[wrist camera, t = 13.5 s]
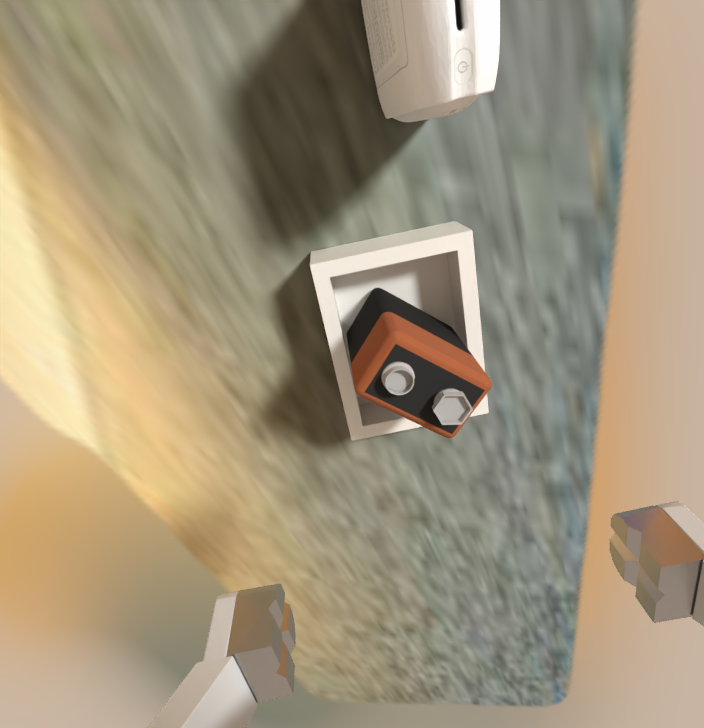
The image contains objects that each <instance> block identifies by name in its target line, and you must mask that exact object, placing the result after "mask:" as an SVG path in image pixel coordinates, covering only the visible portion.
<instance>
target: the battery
mask: <svg viewBox="0 0 704 728" xmlns="http://www.w3.org/2000/svg"><path fill="white" fill-rule="evenodd" d="M347 341H348V348H349V355H350V362H351V369H352V375H353V382H354V389H355V392H356V393H357V394H358V395H359V396H360V397H362V398H364V399H366V400H368V401H370V402H373V403H375V404H377V405H379V406H381V407H383V408H385V409H387V410H389V411H391V412H394V413H396V414H398V415H400V416H402V417H404V418H406V419H408V420H410V421H412V422H415V423H417V424H419V425H421V426H423V427H425V428H427V429H429V430H431V431H433V432H435V433H438V434H440V435H442V436H444V437H447V438H452V437H454V436H455V435H456V434H457V433H458V431H459V430H460V429H461V427H462V426H463V425H464V423H465V422H466V421H467V419H468V418H469V417H470V415H471V414H472V413H473V411H474V410H475V409H476V407H477V406H478V405H479V403H480V402H481V401H482V399H483V398H484V397H485V395H486V394H487V393H488V391H489V390H490V388H491V387H492V382H491V380H490V378H489V377H488V376H487V374H486V373H485V372H484V370H483V369H482V367H481V366H480V365H479V363H478V362H477V361H476V359H475V358H474V357H473V355H472V354H471V352H470V351H469V350H468V348H467V347H466V346H465V344H464V343H463V342H462V340H461V339H460V338H459V336H458V335H457V333H456V332H455V331H454V329H453V328H452V327H451V326H449V325H447V324H445V323H444V322H442V321H440V320H438V319H436V318H435V317H433V316H431V315H429V314H427V313H426V312H424V311H422V310H420V309H418V308H416V307H415V306H413V305H411V304H409V303H407V302H406V301H404V300H402V299H400V298H398V297H396V296H395V295H393V294H391V293H389V292H387V291H386V290H384V289H381V288H374V289H373V290H372V291H371V293H370V295H369V296H368V298H367V300H366V301H365V303H364V305H363V306H362V308H361V310H360V311H359V313H358V315H357V317H356V318H355V320H354V322H353V323H352V325H351V327H350V328H349V330H348V332H347Z"/></svg>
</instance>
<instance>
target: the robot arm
mask: <svg viewBox="0 0 704 728" xmlns="http://www.w3.org/2000/svg"><path fill="white" fill-rule="evenodd" d="M611 527H612V528H613V530H614V531H615V534H614V535H613V536H612V538H611V539H610V552H611V556H612V560H613V562H614V564H615V566H616V568H617V570H618V572H619V573H620V575H621V576H622V578H623V579H624V580H625V581H627V582H628V583H630V584H632V585H634V586H636V598H637V599H638V601H639V602H640V604H641V605H642V607H643V608H644V609H645V611H646V612H647V614H648V615H649V617H650V618H651V619H652V621H653V622H654V623H656V622H662V621H667V620H674V619H680V618H686V617H692V616H693V617H692V618H693V619H694V620H696V621H697V622H698V623H700V624H701V625H703V626H704V524H703V523H702V522H701V521H700V520H699V519H698V518H697V517H696V516H695V515H694V514H693V513H692V512H691V511H690V510H689V509H688V508H687V507H686V506H685V505H684V504H683V503H680V502H678V501H675V502H670V503H665V504H661V505H656V506H649V507H645V508H640V509H636V510H631V511H626V512H622V513H617V514H614V515H613V516H612V518H611ZM284 597H285V592H284V590H283V588H282V586H281V584H275V585H269V586H263V587H258V588H252V589H246V590H241V591H236V592H231V593H226V594H220V595H219V596H218V598H217V600H216V602H215V606H214V611H213V616H212V620H211V625H210V630H209V635H208V640H207V644H206V649H205V654H204V659H203V662H199V663H196V665H195V666H194V667H193V669H192V670H191V671H190V672H189V674H188V675H187V676H186V678H185V679H184V681H183V682H182V683H181V684H180V686H179V687H178V688H177V689H176V691H175V692H174V694H173V695H172V696H171V697H170V699H169V700H168V701H167V703H166V704H165V705H164V707H163V708H162V709H161V711H160V712H159V713H158V714H157V716H156V717H155V718H154V720H153V721H152V723H151V724H150V725H149V726H148V728H247V726H248V724H249V722H250V720H251V718H252V716H253V714H254V712H255V710H256V709H257V707H258V704H257V703H260V702H265V701H269V700H273V699H278V698H282V697H286V696H290V695H293V692H294V691H293V690H294V667H295V665H294V663H293V660H292V658H291V655H290V654H291V652H292V651H293V649H294V647H295V624H294V618H293V614H292V610H291V608H290V605H289V604H287V603H285V602H284Z"/></svg>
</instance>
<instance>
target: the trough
mask: <svg viewBox="0 0 704 728" xmlns="http://www.w3.org/2000/svg"><path fill="white" fill-rule="evenodd" d="M310 268H311V272H312V276H313V280H314V285H315V289H316V293H317V297H318V301H319V306H320V310H321V314H322V318H323V322H324V327H325V331H326V335H327V339H328V343H329V348H330V352H331V356H332V360H333V364H334V369H335V373H336V377H337V381H338V385H339V390H340V394H341V398H342V402H343V406H344V411H345V415H346V419H347V423H348V427H349V432H350V436H351V440H352V441H354V440H358V439H363V438H368V437H373V436H378V435H383V434H388V433H393V432H398V431H403V430H408V429H412V428H417V427H422V426H421V425H419V424H417V423H415V422H412V421H410V420H408V419H406V418H404V417H402V416H400V415H398V414H396V413H394V412H391V411H389V410H387V409H385V408H383V407H381V406H379V405H377V404H375V403H373V402H370V401H368V400H366V399H364V398H362V397H360V396H359V395H358V394H357V393H356V392H355V389H354V382H353V375H352V369H351V362H350V355H349V348H348V341H347V332H348V330H349V328H350V327H351V325H352V323H353V322H354V320H355V318H356V317H357V315H358V313H359V311H360V310H361V308H362V306H363V305H364V303H365V301H366V300H367V298H368V296H369V295H370V293H371V291H372V290H373V289H374V288H381V289H384V290H386V291H387V292H389V293H391V294H393V295H395V296H396V297H398V298H400V299H402V300H404V301H406V302H407V303H409V304H411V305H413V306H415V307H416V308H418V309H420V310H422V311H424V312H426V313H427V314H429V315H431V316H433V317H435V318H436V319H438V320H440V321H442V322H444V323H445V324H447V325H449V326H451V327H452V328H453V329H454V331H455V332H456V333H457V335H458V336H459V338H460V339H461V340H462V342H463V343H464V344H465V346H466V347H467V348H468V350H469V351H470V352H471V354H472V355H473V357H474V358H475V359H476V361H477V362H478V363H479V365H480V366H481V367H482V369H483V370H484V372H485V367H484V355H483V344H482V333H481V322H480V311H479V300H478V288H477V277H476V266H475V255H474V244H473V233H472V230H471V229H469V228H467V227H465V226H464V225H462V224H460V223H458V222H456V221H452V222H448V223H443V224H438V225H434V226H429V227H424V228H420V229H415V230H410V231H406V232H401V233H396V234H392V235H387V236H382V237H378V238H373V239H368V240H364V241H359V242H354V243H350V244H345V245H340V246H336V247H331V248H326V249H322V250H317V251H312V252H311V256H310ZM486 413H489V411H488V400H487V394H486V395H485V397H484V398H483V399H482V401H481V402H480V403H479V405H478V406H477V407H476V409H475V410H474V411H473V413H472V414H471V415H470V417H471V416H476V415H481V414H486Z"/></svg>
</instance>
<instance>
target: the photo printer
mask: <svg viewBox="0 0 704 728" xmlns="http://www.w3.org/2000/svg"><path fill="white" fill-rule="evenodd" d="M361 4H362V10H363V16H364V22H365V28H366V34H367V40H368V45H369V51H370V57H371V62H372V67H373V72H374V78H375V82H376V87H377V92H378V97H379V101H380V104H381V107H382V110H383V113H384V115H385V117H386V119H389V118H394V119H396V120H398V121H401V122H416V121H421V120H427V119H433V118H438V117H443V116H448V115H452V114H455V113H457V112H460V111H462V110H464V109H466V108H467V107H469V106H470V105H471V104H473V103H474V102H475V101H476V100H477V99H478V97H479V96H480V95H482V94H486V93H489V92H492V91H493V90H494V87H495V81H496V76H497V70H498V61H499V45H500V0H361Z"/></svg>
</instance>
